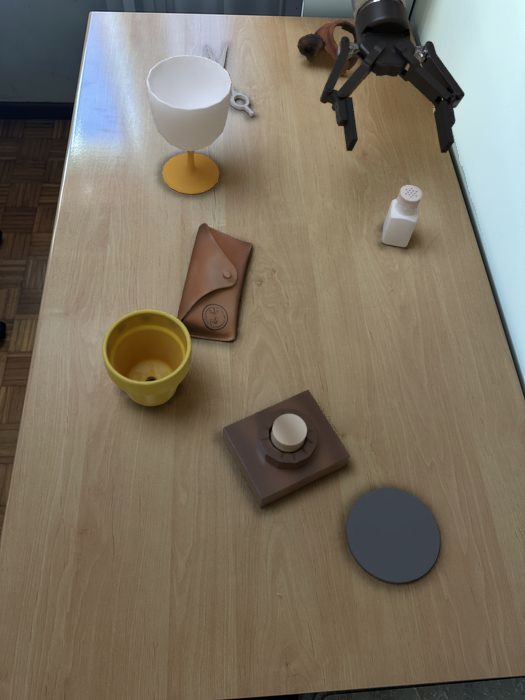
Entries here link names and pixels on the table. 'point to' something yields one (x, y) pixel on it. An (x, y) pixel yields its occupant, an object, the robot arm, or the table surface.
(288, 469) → the button base
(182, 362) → the flower pot
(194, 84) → the cup
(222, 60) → the scissors
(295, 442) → the cream short cylinder
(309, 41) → the brown curved piece
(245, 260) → the sunglasses case
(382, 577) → the mat
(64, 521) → the table surface
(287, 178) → the table surface
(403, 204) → the pepper shaker
